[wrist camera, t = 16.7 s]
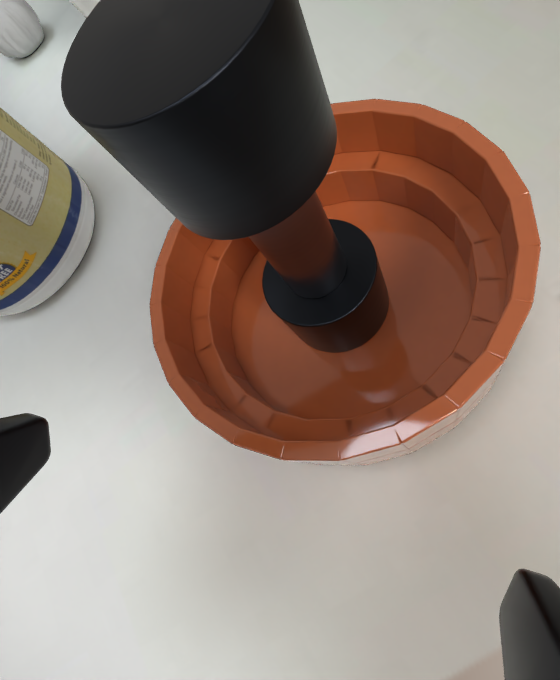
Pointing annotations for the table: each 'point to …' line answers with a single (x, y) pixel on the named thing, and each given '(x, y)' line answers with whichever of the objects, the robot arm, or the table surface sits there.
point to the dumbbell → (232, 144)
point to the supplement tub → (38, 219)
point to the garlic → (19, 29)
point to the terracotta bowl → (403, 290)
